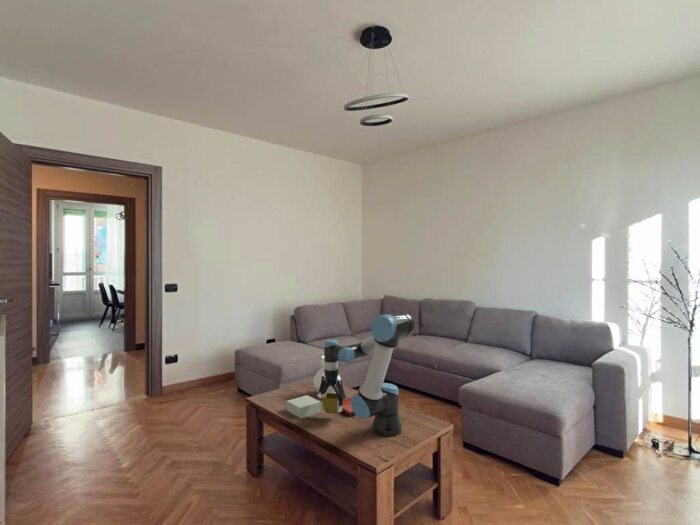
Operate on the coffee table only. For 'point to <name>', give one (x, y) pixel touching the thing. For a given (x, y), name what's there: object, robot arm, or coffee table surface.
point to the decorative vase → (318, 379)
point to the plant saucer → (347, 407)
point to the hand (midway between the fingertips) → (332, 408)
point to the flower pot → (330, 403)
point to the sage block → (303, 406)
